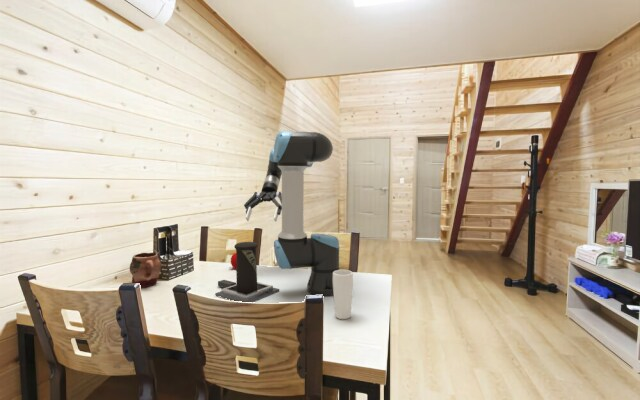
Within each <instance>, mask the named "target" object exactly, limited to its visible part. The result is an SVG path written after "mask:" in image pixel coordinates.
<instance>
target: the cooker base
mask: <svg viewBox="0 0 640 400" xmlns="http://www.w3.org/2000/svg"><path fill="white" fill-rule="evenodd" d="M217 287H221V290H220V291H218V292H215V295H216V296H215V295H214V296H215V297H218V296H221V297H222V298H221V297H220V298H221V299H225V298H227V299H226V300H228V301H231V300H234V301H242V302H252V303H255V302H258V301H259V300H262V299H264V298H265V299H266V298H267V297H269V296H271V295H274V294H276V293H279V292H280V288H276V287H274V285H272V284H271V285H270V284H267V283H263V282H258V281H257V291H255V292H252V293H249V294H243V293H239V292H237V282H236V281H231V280H226V279H221V280H218V281H217ZM229 299H230V300H229ZM234 301H233V302H234Z"/></svg>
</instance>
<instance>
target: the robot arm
mask: <svg viewBox="0 0 640 400" xmlns="http://www.w3.org/2000/svg"><path fill="white" fill-rule="evenodd" d="M333 147H334V146H333V143H332V141H331V139H329V138H328V136H326V135H325V134H323V133H320V132H317V131H311V132H310V131H294V130H286V131H285V130H284V131H279V132H278V133H277V134H276V137H275V139H274V145H273V148H272V149H271V150H270V152H269V157H268V159H269V160H268V165H267V170H266V171H267V172H266V175H265V178H264V181H263V184H262V188H261V191H260V193H259V192H257V191H254V194H253V195H252V196H251V197H250V198H249V199H248V200H247V201H246V202H245V203H244V204H243V207H244V209H245V214H246V215H245V217H244V218H245V220H246V221H247V222H249V221H250V218H251V215H252V212H253V209H254V208H255V207H257V206H258V205H260V204H261V203H263V202H265V203H266V202H272V203H273V204H274V205H275V206H276V208H275V211H274V215H273V219H274V220H273V221H274V222H278V217H279V216H280V215H281V231H280V232H279V233H278V234H277V239H275V240H274V242H273V250H274V251H273V252H274V255H275V260H276V264H277V266H278V267H279V269H281V270H286V269H287V270H293V269H301V268H311V271H310V276H309V278H308V282H307V289H306V290H307V293H308V294H309V293H310V294H311V295H314V294H323V295H324V296H323V297H325V296H326V297H328V296H329V297H331V296H332V297H333V296H334V294H333V272H334V271H336V270H340V241H339V238H338V237H337V236H335V235H330V234H325V233H312V234H311V235H310V237H308V234H307V233H306V232H305V231H304V195H305V194H304V188H305V187H304V183H305V182H304V178H305V177H304V175H305V174H304V172H305V170H307V168H311V167H313V163H317V162H318V163H321V162H325V161H326V160H328V159H330V157H331V156H332V154H333V150H334V148H333ZM280 180H281V181H280ZM280 182H281V191H279V192H278V189H279V186H280ZM277 192H278V193H277ZM276 198H278V199H279V201H280V203H281V204H280V203H279V201H278V200H277V199H276Z"/></svg>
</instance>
